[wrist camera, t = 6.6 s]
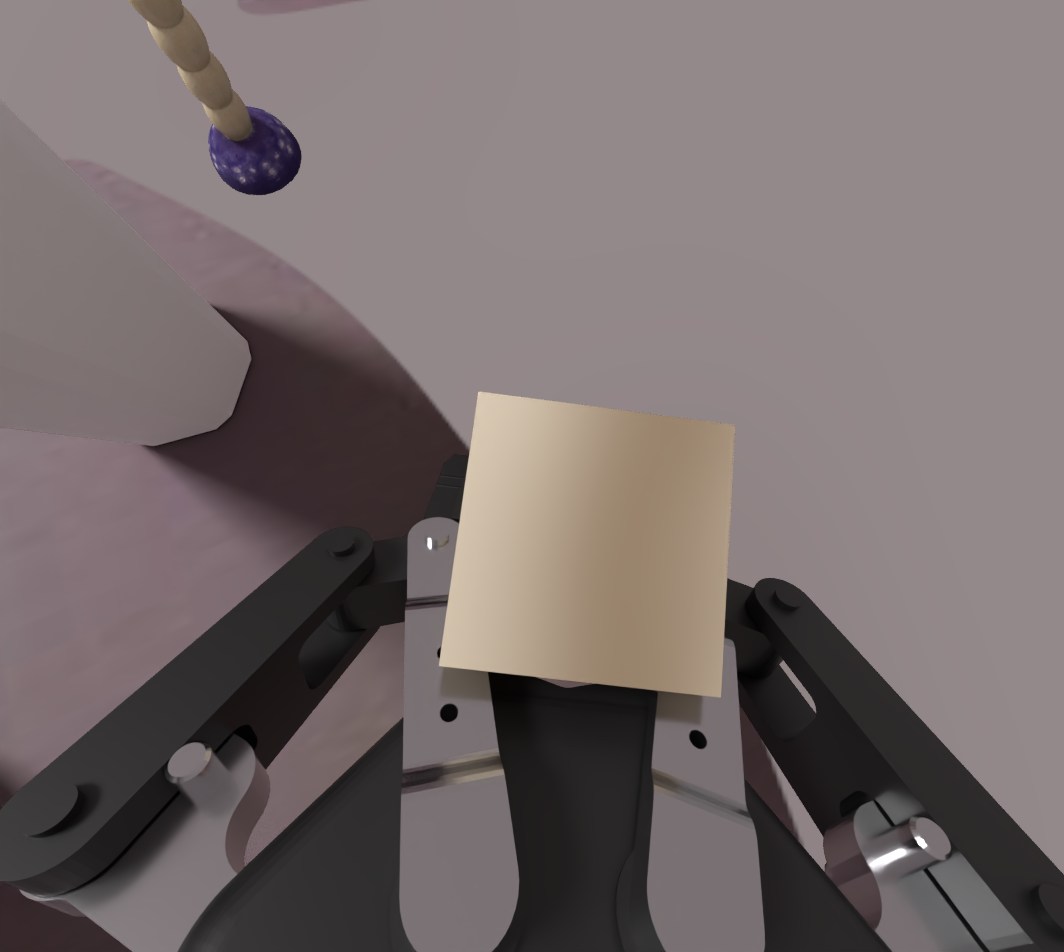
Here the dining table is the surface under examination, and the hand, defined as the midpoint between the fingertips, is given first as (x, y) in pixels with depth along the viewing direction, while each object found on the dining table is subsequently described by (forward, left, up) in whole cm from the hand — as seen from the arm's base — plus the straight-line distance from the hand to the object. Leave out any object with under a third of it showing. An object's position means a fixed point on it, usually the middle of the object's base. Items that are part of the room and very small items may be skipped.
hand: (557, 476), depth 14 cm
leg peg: (0, -2, -6) cm, 6 cm away
